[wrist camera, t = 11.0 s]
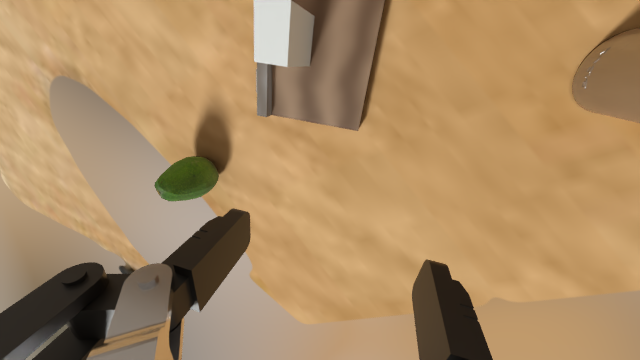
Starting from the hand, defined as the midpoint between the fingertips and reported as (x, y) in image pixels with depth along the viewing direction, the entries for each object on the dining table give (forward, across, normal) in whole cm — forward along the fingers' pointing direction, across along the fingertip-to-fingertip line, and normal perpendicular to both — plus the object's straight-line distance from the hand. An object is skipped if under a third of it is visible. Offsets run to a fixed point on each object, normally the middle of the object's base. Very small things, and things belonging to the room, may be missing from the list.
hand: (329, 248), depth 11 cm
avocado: (+30, +30, +16) cm, 46 cm away
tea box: (+28, +12, -9) cm, 32 cm away
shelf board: (+30, +9, -8) cm, 32 cm away
